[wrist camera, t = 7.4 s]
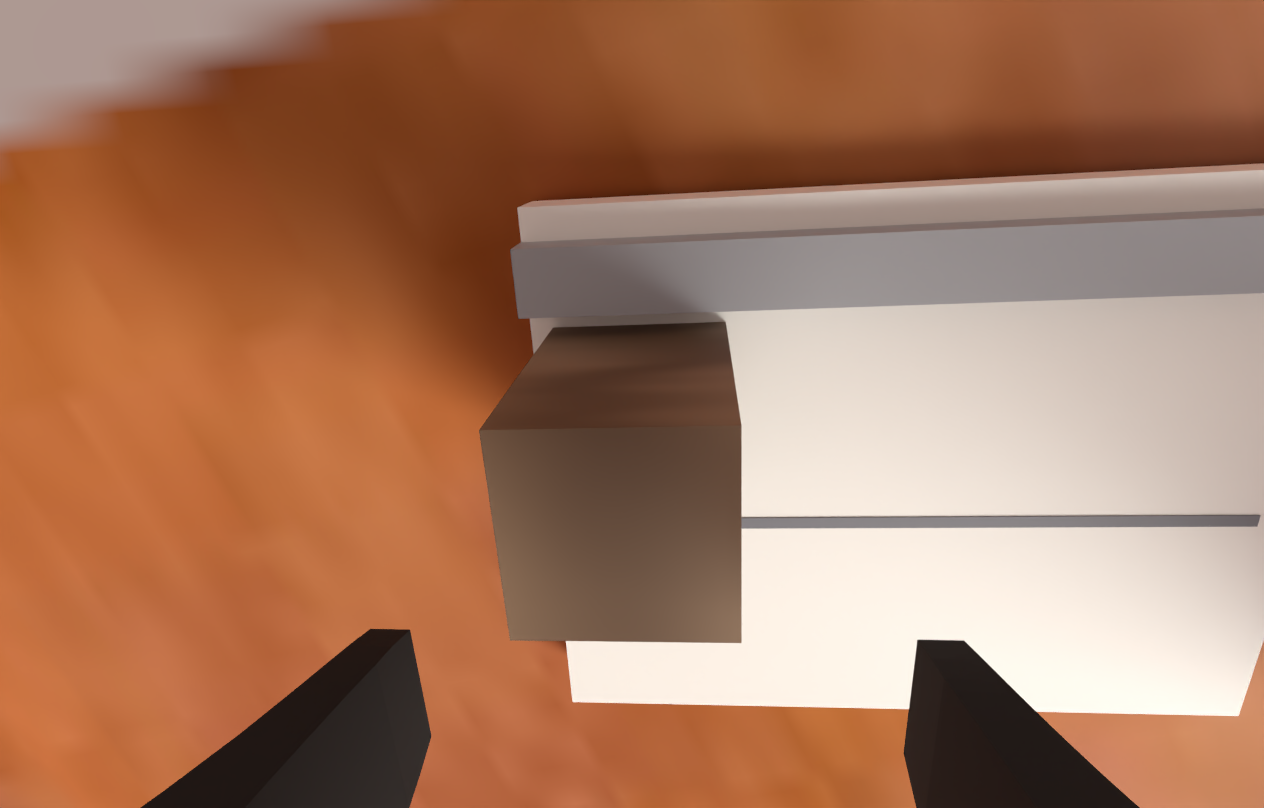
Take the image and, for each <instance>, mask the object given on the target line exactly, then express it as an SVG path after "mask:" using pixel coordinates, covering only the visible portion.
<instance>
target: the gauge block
mask: <svg viewBox="0 0 1264 808" xmlns="http://www.w3.org/2000/svg"><path fill="white" fill-rule="evenodd" d="M479 433H480V440H481V446H482V453H483V460H484V467H485V474H486V480H487V487H488V494H489V501H490V507H491V514H492V521H493V528H494V535H495V541H496V548H497V555H498V562H499V568H500V575H501V582H502V589H503V595H504V602H505V609H506V616H507V623H508V629H509V636H510V640H523V641H605V642H686V643H742V425H741V419H740V412H739V406H738V399H737V393H736V386H735V379H734V373H733V366H732V360H731V353H730V347H729V340H728V333H727V327H726V322H704V323H674V324H644V325H614V326H584V327H553V328H552V330H551V331H550V332H549V334H548V335H547V337H546V338H545V339H544V341H543V342H542V343H541V345H540V346H539V348H538V349H537V350H536V352H535V353H534V355H533V356H532V357H531V359H530V360H529V362H528V363H527V364H526V366H525V367H524V369H523V370H522V371H521V373H520V374H519V376H518V377H517V378H516V380H515V381H514V382H513V384H512V385H511V387H510V388H509V389H508V391H507V392H506V394H505V395H504V396H503V398H502V399H501V401H500V402H499V403H498V405H497V406H496V408H495V409H494V410H493V412H492V413H491V414H490V416H489V417H488V419H487V420H486V421H485V423H484V424H483V426H482V427H481V428H480V430H479Z"/></svg>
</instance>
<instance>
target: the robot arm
mask: <svg viewBox="0 0 1264 808" xmlns="http://www.w3.org/2000/svg"><path fill="white" fill-rule="evenodd" d="M430 739H431V732H430V727H429V722H428V717H427V712H426V707H425V702H424V697H423V692H422V687H421V683H420V678H419V673H418V668H417V663H416V658H415V653H414V648H413V643H412V638H411V633H410V630H395V629H370V630H369V631H367V632H366V633H365V634H363V635H362V636H361V637H359V638H358V639H357V640H355V641H354V642H353V643H351V644H350V645H349V646H348V647H347V648H345V649H344V650H343V651H342V652H340V653H339V654H338V655H337V656H335V657H334V658H333V659H332V660H330V661H329V662H328V663H327V664H326V665H324V666H323V667H322V668H321V669H320V670H318V671H317V672H316V673H315V674H313V675H312V676H311V677H310V678H309V679H307V680H306V681H305V682H304V683H303V684H301V685H300V686H299V687H298V688H296V689H295V690H294V691H293V692H291V693H290V694H289V695H288V696H287V697H285V698H284V699H283V700H282V701H280V702H279V703H278V704H277V705H275V706H274V707H273V708H272V709H270V710H269V711H268V712H267V713H265V714H264V715H263V716H262V717H260V718H259V719H258V720H257V721H255V722H254V723H253V724H252V725H251V726H249V727H248V728H247V729H246V730H244V731H243V732H242V733H240V734H239V735H238V736H237V737H235V738H234V739H233V740H231V741H230V742H229V743H227V744H226V745H225V746H223V747H222V748H221V749H219V750H218V751H217V752H215V753H214V754H213V755H211V756H210V757H209V758H207V759H206V760H205V761H203V762H202V763H201V764H199V765H198V766H197V767H195V768H194V769H193V770H191V771H190V772H189V773H187V774H186V775H185V776H183V777H182V778H181V779H179V780H178V781H177V782H175V783H174V784H173V785H171V786H170V787H169V788H167V789H166V790H165V791H163V792H162V793H161V794H159V795H158V796H156V797H155V798H154V799H152V800H151V801H149V802H148V803H146V804H145V805H144V806H142V807H141V808H409V807H410V804H411V801H412V797H413V794H414V791H415V788H416V785H417V782H418V779H419V776H420V773H421V769H422V766H423V763H424V759H425V756H426V752H427V749H428V746H429V742H430ZM904 756H905V760H906V765H907V769H908V773H909V778H910V782H911V786H912V791H913V795H914V799H915V803H916V807H917V808H1139V807H1138V806H1137V805H1136V804H1135V803H1134V802H1132V801H1131V800H1130V799H1129V798H1128V797H1127V796H1126V795H1125V794H1123V793H1122V792H1121V791H1120V790H1119V789H1118V788H1117V787H1116V786H1115V785H1113V784H1112V783H1111V782H1110V781H1109V780H1108V779H1107V778H1106V777H1104V776H1103V775H1102V774H1101V773H1100V772H1099V771H1098V770H1097V769H1096V768H1095V767H1094V766H1093V765H1092V764H1091V763H1089V762H1088V761H1087V760H1086V759H1085V758H1084V757H1083V756H1082V755H1081V754H1080V753H1079V752H1078V751H1077V750H1076V749H1074V748H1073V747H1072V746H1071V745H1070V744H1069V743H1068V742H1067V741H1066V740H1065V739H1064V738H1063V737H1062V736H1061V735H1060V734H1059V733H1058V732H1056V731H1055V730H1054V729H1053V728H1052V727H1051V726H1050V725H1049V724H1048V723H1047V722H1046V721H1045V720H1044V719H1043V718H1042V717H1041V716H1040V715H1039V714H1038V713H1037V712H1036V711H1035V710H1034V709H1033V708H1032V707H1031V706H1030V705H1029V704H1028V703H1027V702H1026V701H1025V700H1024V699H1023V698H1022V697H1021V696H1020V695H1019V694H1018V693H1017V692H1016V691H1015V690H1014V689H1013V688H1012V687H1011V686H1010V685H1009V684H1008V683H1007V682H1006V681H1005V680H1004V679H1003V678H1002V677H1001V676H1000V675H999V674H998V673H997V672H996V671H995V670H994V669H992V668H991V667H990V666H989V665H988V664H987V663H986V662H985V661H984V660H983V659H982V658H981V657H980V656H979V655H978V654H977V653H976V652H975V651H974V650H973V649H972V648H971V647H970V646H969V645H968V644H967V643H966V642H965V641H964V640H917V647H916V655H915V664H914V672H913V680H912V688H911V697H910V705H909V713H908V722H907V730H906V738H905V747H904Z"/></svg>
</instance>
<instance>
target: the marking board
mask: <svg viewBox="0 0 1264 808" xmlns="http://www.w3.org/2000/svg"><path fill="white" fill-rule="evenodd" d="M517 210H518V219H519V228H520V237H521V243H519V244H518V245H516V246H515V247H513V248H512V249H510V253H511V261H512V270H513V278H514V287H515V295H516V304H517V312H518V319H527V318H530V326H531V335H532V344H533V353H535V352H536V350H537V349H538V348H539V346H540V345H541V343H542V342H543V341H544V339H545V338H546V337H547V335H548V334H549V332H550V331H551V330H552V328H553V327H584V326H614V325H644V324H674V323H704V322H726V327H727V333H728V340H729V347H730V353H731V360H732V366H733V373H734V379H735V386H736V393H737V399H738V406H739V412H740V419H741V425H742V643H686V642H605V641H566V647H567V656H568V665H569V674H570V683H571V692H572V700H573V702H598V703H646V704H693V705H741V706H788V707H836V708H883V709H909V705H910V697H911V688H912V680H913V672H914V664H915V655H916V647H917V640H964V641H965V642H966V643H967V644H968V645H969V646H970V647H971V648H972V649H973V650H974V651H975V652H976V653H977V654H978V655H979V656H980V657H981V658H982V659H983V660H984V661H985V662H986V663H987V664H988V665H989V666H990V667H991V668H992V669H994V670H995V671H996V672H997V673H998V674H999V675H1000V676H1001V677H1002V678H1003V679H1004V680H1005V681H1006V682H1007V683H1008V684H1009V685H1010V686H1011V687H1012V688H1013V689H1014V690H1015V691H1016V692H1017V693H1018V694H1019V695H1020V696H1021V697H1022V698H1023V699H1024V700H1025V701H1026V702H1027V703H1028V704H1029V705H1030V706H1031V707H1032V708H1033V709H1034V710H1035V711H1036V712H1073V713H1121V714H1168V715H1216V716H1239V713H1240V710H1241V707H1242V704H1243V701H1244V698H1245V695H1246V692H1247V689H1248V686H1249V683H1250V680H1251V677H1252V674H1253V671H1254V668H1255V665H1256V662H1257V659H1258V656H1259V653H1260V650H1261V647H1262V644H1263V641H1264V163H1261V164H1241V165H1222V166H1203V167H1183V168H1164V169H1145V170H1125V171H1106V172H1086V173H1067V174H1048V175H1028V176H1009V177H990V178H970V179H951V180H931V181H912V182H893V183H873V184H854V185H835V186H815V187H796V188H776V189H757V190H738V191H718V192H699V193H680V194H660V195H641V196H621V197H602V198H583V199H563V200H544V201H531V202H529V203H527V204H524V205H522V206H520V207H518V208H517Z"/></svg>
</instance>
